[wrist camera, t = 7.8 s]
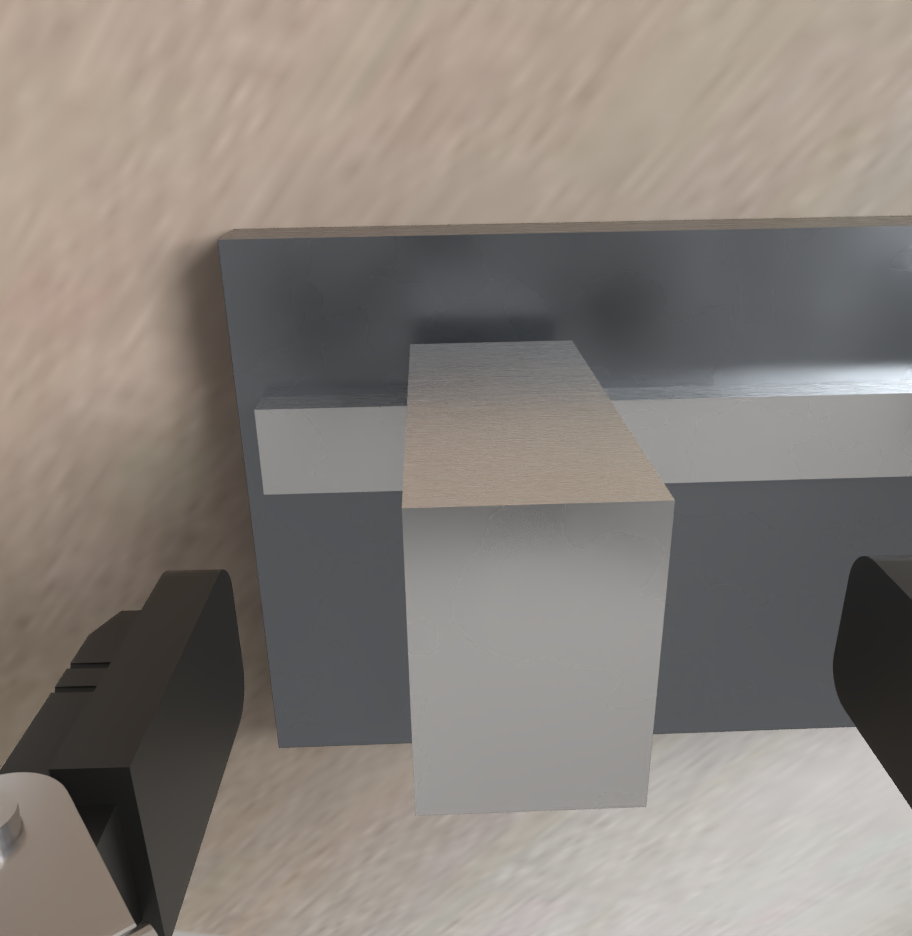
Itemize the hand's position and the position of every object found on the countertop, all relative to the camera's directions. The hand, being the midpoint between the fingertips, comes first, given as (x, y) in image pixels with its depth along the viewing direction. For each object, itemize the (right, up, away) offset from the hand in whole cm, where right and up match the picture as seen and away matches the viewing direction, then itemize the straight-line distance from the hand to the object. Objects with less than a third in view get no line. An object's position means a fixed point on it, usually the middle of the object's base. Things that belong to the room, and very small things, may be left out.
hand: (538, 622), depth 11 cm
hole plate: (+5, +2, +9) cm, 11 cm away
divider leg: (0, +1, +6) cm, 6 cm away
